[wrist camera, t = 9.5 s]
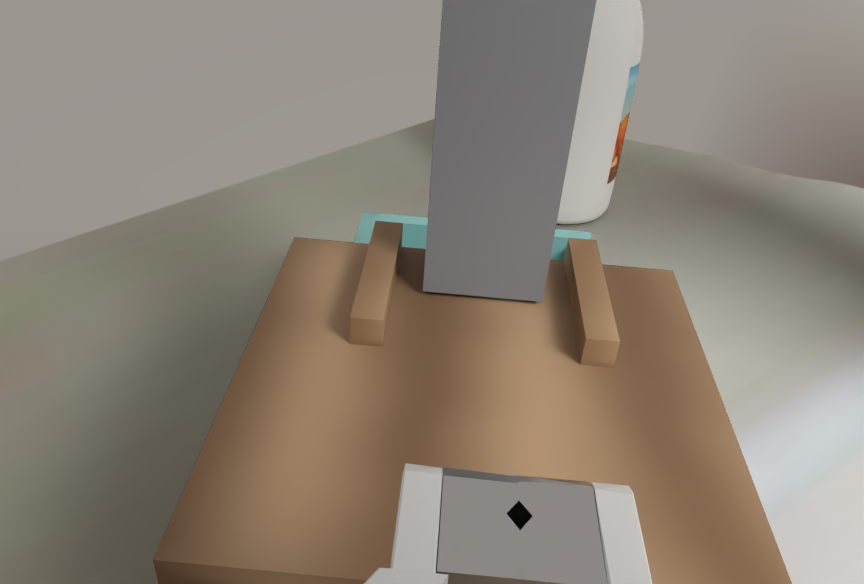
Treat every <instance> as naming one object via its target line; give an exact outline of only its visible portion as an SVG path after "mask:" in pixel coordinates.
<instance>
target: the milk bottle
mask: <svg viewBox="0 0 864 584" xmlns="http://www.w3.org/2000/svg"><path fill="white" fill-rule="evenodd" d="M642 45H643V17H642V10H641V5H640V0H597V1H596V6H595V12H594V17H593V23H592V29H591V34H590V40H589V45H588V51H587V56H586V62H585V68H584V73H583V79H582V84H581V90H580V95H579V101H578V107H577V112H576V118H575V123H574V129H573V134H572V140H571V146H570V151H569V157H568V162H567V168H566V174H565V179H564V185H563V190H562V196H561V201H560V207H559V213H558V218H557V224H579V223H586V222H589V221H593V220H595V219H597V218H599V217H600V216H601V215H603V213H604V212H605V211H606V209H607V208H608V206H609V203H610V199H611V195H612V191H613V186H614V182H615V178H616V173H617V169H618V164H619V160H620V155H621V151H622V146H623V141H624V137H625V132H626V127H627V123H628V119H629V114H630V109H631V104H632V100H633V95H634V90H635V85H636V80H637V76H638V70H639V63H640V58H641V53H642Z"/></svg>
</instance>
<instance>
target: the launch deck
mask: <svg viewBox="0 0 864 584" xmlns="http://www.w3.org/2000/svg"><path fill="white" fill-rule="evenodd" d="M402 233H403V223H397V222H386V221H375V225H374V228H373V232H372V236H371V240H370V243H369V244H365V243H354V242H342V241H331V240H320V239H308V238H297V237H294V240H293V242H292V244H291V247H290V249H289V251H288V253H287V256H286V258H285V260H284V262H283V265H282V267H281V269H280V272H279V274H278V276H277V278H276V281H275V283H274V285H273V288H272V290H271V292H270V294H269V297H268V299H267V301H266V304H265V306H264V308H263V310H262V313H261V315H260V317H259V320H258V322H257V324H256V326H255V329H254V331H253V333H252V335H251V338H250V340H249V342H248V345H247V347H246V349H245V351H244V354H243V356H242V358H241V361H240V363H239V365H238V367H237V370H236V372H235V374H234V377H233V379H232V381H231V383H230V386H229V388H228V390H227V393H226V395H225V397H224V399H223V402H222V404H221V406H220V409H219V411H218V413H217V415H216V418H215V420H214V422H213V424H212V427H211V429H210V431H209V434H208V436H207V438H206V440H205V443H204V445H203V447H202V450H201V452H200V454H199V456H198V459H197V461H196V463H195V466H194V468H193V470H192V472H191V475H190V477H189V479H188V482H187V484H186V486H185V488H184V491H183V493H182V495H181V498H180V500H179V502H178V504H177V507H176V509H175V511H174V513H173V516H172V518H171V520H170V523H169V525H168V527H167V529H166V532H165V534H164V536H163V539H162V541H161V543H160V545H159V548H158V550H157V552H156V555H155V557H154V559H153V561H154V565H155V570H156V574H157V578H158V583H159V584H364V583H365V582H366V581H367V580H368V579H369V578H370V577H371V575H372V574H373V573H374V572H375V571H376V570H377V569H378V568H390V566H391V559H392V551H393V543H394V536H395V528H396V521H397V513H398V505H399V498H400V490H401V482H402V475H403V470H404V467H405V464H406V463H408V464H416V465H424V466H432V467H441V468H442V474H443V468H444V467H446V468H454V469H462V470H470V471H478V472H486V473H494V474H502V475H510V476H516V475H518V476H530V477H542V478H553V479H565V480H576V481H588V482H589V483H591V482H595V483H606V484H617V485H628V486H629V487H630V488H631V490H632V491H633V494H634V498H635V503H636V508H637V513H638V517H639V522H640V527H641V532H642V536H643V541H644V546H645V551H646V555H647V560H648V565H649V570H650V574H651V579H652V584H792V583H791V580H790V578H789V575H788V572H787V570H786V567H785V564H784V562H783V559H782V557H781V554H780V551H779V549H778V546H777V543H776V541H775V538H774V536H773V533H772V530H771V528H770V525H769V522H768V520H767V517H766V515H765V512H764V509H763V507H762V504H761V501H760V499H759V496H758V494H757V491H756V488H755V486H754V483H753V480H752V478H751V475H750V473H749V470H748V467H747V465H746V462H745V459H744V457H743V454H742V452H741V449H740V446H739V444H738V441H737V438H736V436H735V433H734V431H733V428H732V425H731V423H730V420H729V417H728V415H727V412H726V410H725V407H724V404H723V402H722V399H721V396H720V394H719V391H718V389H717V386H716V383H715V381H714V378H713V375H712V373H711V370H710V368H709V365H708V362H707V360H706V357H705V354H704V352H703V349H702V347H701V344H700V341H699V339H698V336H697V333H696V331H695V328H694V326H693V323H692V320H691V318H690V315H689V312H688V310H687V307H686V305H685V302H684V299H683V297H682V294H681V291H680V289H679V286H678V284H677V281H676V278H675V276H674V273H673V271H671V270H660V269H648V268H637V267H626V266H614V265H603V264H602V263H601V259H600V255H599V250H598V246H597V242H596V240H591V239H580V238H568V242H567V247H566V252H565V258H564V261H558V260H550V263H549V268H548V274H547V279H546V285H545V291H544V296H543V302H538V301H526V300H515V299H504V298H493V297H481V296H470V295H459V294H448V293H437V292H425V291H423V281H424V267H425V252H426V249H422V248H410V247H402Z"/></svg>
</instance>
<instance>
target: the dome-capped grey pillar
mask: <svg viewBox="0 0 864 584" xmlns="http://www.w3.org/2000/svg"><path fill="white" fill-rule="evenodd" d="M596 1H597V0H443V5H442V6H443V7H442V19H441V34H440V49H439V63H438V78H437V92H436V106H435V121H434V136H433V150H432V165H431V179H430V194H429V208H428V223H427V237H426V252H425V267H424V281H423V291H425V292H437V293H448V294H459V295H470V296H481V297H493V298H504V299H515V300H526V301H538V302H543V296H544V291H545V285H546V279H547V274H548V268H549V263H550V257H551V252H552V246H553V240H554V235H555V229H556V224H557V218H558V213H559V207H560V201H561V196H562V190H563V185H564V179H565V174H566V168H567V162H568V157H569V151H570V146H571V140H572V134H573V129H574V123H575V118H576V112H577V107H578V101H579V95H580V90H581V84H582V79H583V73H584V68H585V62H586V56H587V51H588V45H589V40H590V34H591V29H592V23H593V17H594V12H595V6H596Z"/></svg>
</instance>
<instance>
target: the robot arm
mask: <svg viewBox="0 0 864 584" xmlns="http://www.w3.org/2000/svg"><path fill="white" fill-rule="evenodd" d="M364 584H652V579H651V574H650V570H649V565H648V560H647V555H646V551H645V546H644V541H643V536H642V532H641V527H640V522H639V517H638V513H637V508H636V503H635V498H634V494H633V491H632V490H631V488H630V487H629V486H628V485H617V484H606V483H595V482H591V483H589V482H588V481H576V480H565V479H553V478H542V477H530V476H518V475H516V476H510V475H502V474H494V473H486V472H478V471H470V470H462V469H454V468H446V467H444V468H443V474H442V468H441V467H432V466H424V465H416V464H408V463H406V464H405V467H404V470H403V475H402V482H401V490H400V498H399V505H398V513H397V521H396V528H395V536H394V543H393V551H392V559H391V566H390V568H378V569H377V570H376V571H375V572H374V573H373V574H372V575H371V577H370V578H369V579H368V580H367V581H366V582H365V583H364Z"/></svg>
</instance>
